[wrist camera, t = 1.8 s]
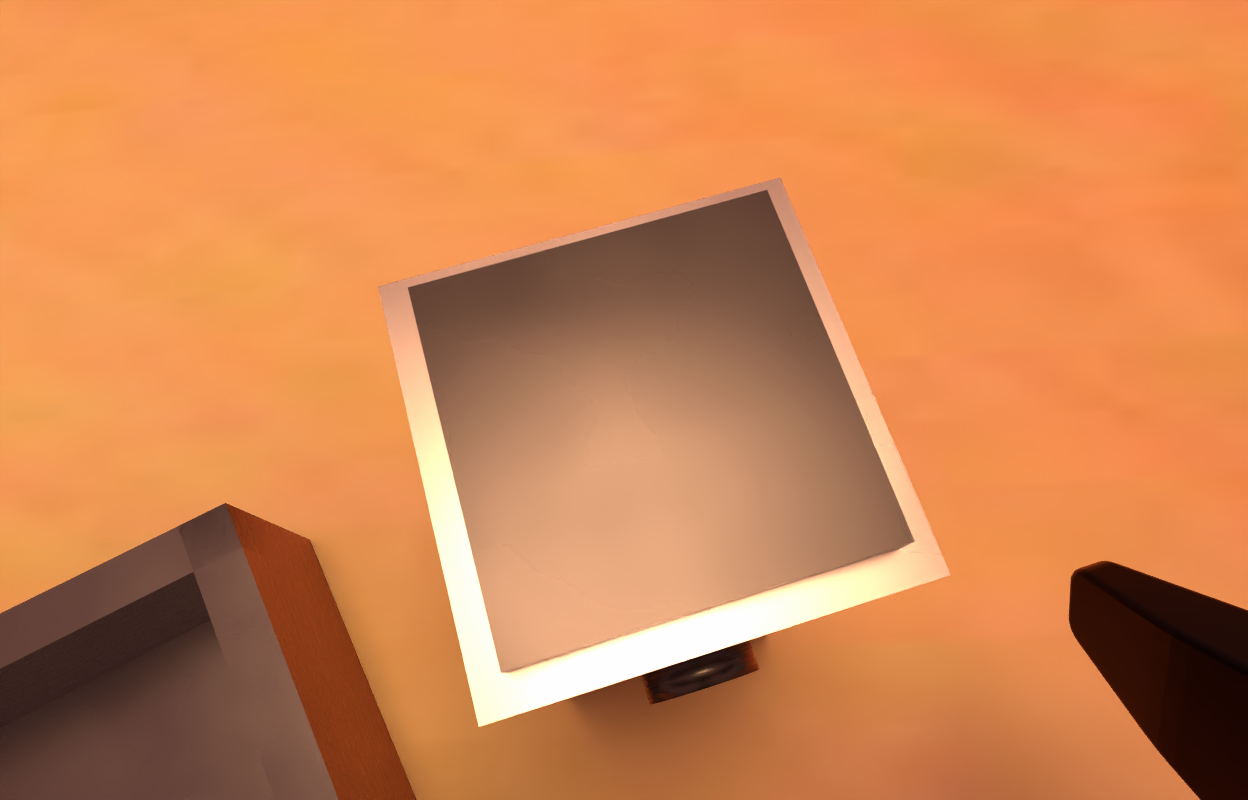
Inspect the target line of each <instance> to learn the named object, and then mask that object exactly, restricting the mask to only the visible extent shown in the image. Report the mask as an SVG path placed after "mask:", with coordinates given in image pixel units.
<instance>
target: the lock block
mask: <svg viewBox="0 0 1248 800" xmlns="http://www.w3.org/2000/svg"><path fill="white" fill-rule="evenodd" d="M378 288H379V292H380V297H381V301H382V305H383V310H384V314H385V319H386V323H387V327H388V332H389V336H390V340H391V345H392V349H393V354H394V358H395V362H396V367H397V371H398V375H399V380H400V384H401V389H402V393H403V397H404V402H405V406H406V410H407V415H408V419H409V424H410V428H411V432H412V437H413V441H414V446H415V450H416V454H417V459H418V463H419V467H420V472H421V476H422V481H423V485H424V489H425V494H426V498H427V502H428V507H429V511H430V516H431V520H432V524H433V529H434V533H435V537H436V542H437V546H438V551H439V555H440V559H441V564H442V568H443V572H444V577H445V581H446V586H447V590H448V594H449V599H450V603H451V607H452V612H453V616H454V621H455V625H456V629H457V634H458V638H459V643H460V647H461V651H462V656H463V660H464V664H465V669H466V673H467V678H468V682H469V686H470V691H471V695H472V699H473V704H474V708H475V713H476V717H477V721H478V726H479V727H480V726H483V725H487V724H490V723H493V722H496V721H499V720H503V719H506V718H509V717H512V716H515V715H519V714H522V713H525V712H528V711H531V710H535V709H538V708H541V707H544V706H547V705H550V704H554V703H557V702H560V701H563V700H566V699H570V698H573V697H576V696H579V695H582V694H585V693H588V692H591V691H595V690H598V689H601V688H604V687H607V686H610V685H613V684H616V683H619V682H622V681H626V680H629V679H632V678H635V677H638V676H641V677H642V680H643V683H644V687H645V690H646V694H647V697H648V700H649V704H654V703H658V702H662V701H666V700H669V699H673V698H676V697H679V696H683V695H686V694H689V693H692V692H695V691H699V690H702V689H705V688H708V687H711V686H714V685H717V684H720V683H723V682H726V681H729V680H732V679H735V678H738V677H740V676H743V675H746V674H749V673H751V672H754V671H756V670H758V669H759V667H758V664H757V661H756V659H755V656H754V653H753V650H752V647H751V644H750V640H753V639H756V638H759V637H762V636H765V635H768V634H772V633H775V632H778V631H781V630H784V629H787V628H790V627H793V626H796V625H799V624H802V623H805V622H808V621H811V620H814V619H818V618H821V617H824V616H827V615H830V614H833V613H836V612H839V611H842V610H845V609H848V608H851V607H854V606H857V605H860V604H863V603H867V602H870V601H873V600H876V599H879V598H882V597H885V596H888V595H891V594H894V593H897V592H900V591H903V590H906V589H909V588H913V587H916V586H919V585H922V584H925V583H928V582H931V581H934V580H937V579H940V578H943V577H946V576H949V575H950V572H949V570H948V568H947V565H946V563H945V561H944V558H943V556H942V554H941V551H940V549H939V547H938V544H937V542H936V540H935V537H934V535H933V533H932V530H931V528H930V526H929V523H928V521H927V519H926V516H925V514H924V512H923V509H922V507H921V505H920V502H919V500H918V498H917V495H916V493H915V491H914V488H913V486H912V484H911V481H910V479H909V477H908V474H907V472H906V470H905V468H904V465H903V463H902V461H901V458H900V456H899V454H898V451H897V449H896V447H895V444H894V442H893V440H892V437H891V435H890V433H889V430H888V428H887V426H886V423H885V421H884V419H883V416H882V414H881V412H880V409H879V407H878V405H877V402H876V400H875V398H874V395H873V393H872V391H871V388H870V386H869V384H868V381H867V379H866V377H865V374H864V372H863V370H862V367H861V365H860V363H859V360H858V358H857V356H856V353H855V351H854V349H853V346H852V344H851V342H850V339H849V337H848V335H847V332H846V330H845V328H844V325H843V323H842V321H841V318H840V316H839V314H838V311H837V309H836V307H835V304H834V302H833V300H832V297H831V295H830V293H829V290H828V288H827V286H826V283H825V281H824V279H823V276H822V274H821V272H820V269H819V267H818V265H817V262H816V260H815V258H814V255H813V253H812V251H811V248H810V246H809V244H808V241H807V239H806V237H805V234H804V232H803V230H802V227H801V225H800V223H799V220H798V218H797V216H796V213H795V211H794V209H793V206H792V204H791V202H790V199H789V197H788V195H787V192H786V190H785V188H784V185H783V183H782V181H781V178H777V179H774V180H770V181H766V182H763V183H759V184H755V185H751V186H748V187H744V188H740V189H737V190H733V191H729V192H726V193H722V194H718V195H715V196H711V197H707V198H703V199H700V200H696V201H692V202H689V203H685V204H681V205H678V206H674V207H670V208H666V209H663V210H659V211H655V212H652V213H648V214H644V215H641V216H637V217H633V218H630V219H626V220H622V221H618V222H615V223H611V224H607V225H604V226H600V227H596V228H593V229H589V230H585V231H582V232H578V233H574V234H570V235H567V236H563V237H559V238H556V239H552V240H548V241H545V242H541V243H537V244H534V245H530V246H526V247H522V248H519V249H515V250H511V251H508V252H504V253H500V254H497V255H493V256H489V257H486V258H482V259H478V260H474V261H471V262H467V263H463V264H460V265H456V266H452V267H449V268H445V269H441V270H438V271H434V272H430V273H426V274H423V275H419V276H415V277H412V278H408V279H404V280H401V281H397V282H393V283H390V284H386V285H382V286H378Z"/></svg>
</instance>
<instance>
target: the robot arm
mask: <svg viewBox="0 0 1248 800" xmlns="http://www.w3.org/2000/svg"><path fill="white" fill-rule="evenodd" d="M1069 623H1070V627H1071V630H1072V632H1073V634H1074V636H1075V638H1076V639H1077V641H1078V642H1079V644H1080V645H1081V646H1082V648H1083V649H1084V651H1085V652H1086V653H1087V655H1088V656H1089V658H1090V659H1091V660H1092V662H1093V663H1094V664H1095V666H1096V667H1097V669H1098V670H1099V671H1100V673H1101V674H1102V675H1103V677H1104V678H1105V680H1106V681H1107V682H1108V684H1109V685H1110V687H1111V688H1112V689H1113V691H1114V692H1115V693H1116V695H1117V696H1118V698H1119V699H1120V700H1121V702H1122V703H1123V704H1124V706H1125V707H1126V709H1127V710H1128V711H1129V713H1130V714H1131V716H1132V717H1133V718H1134V720H1135V721H1136V722H1137V724H1138V725H1139V727H1140V728H1141V729H1142V731H1143V732H1144V733H1145V735H1146V736H1147V737H1148V739H1149V740H1150V741H1151V742H1152V744H1153V745H1154V746H1155V748H1156V749H1157V750H1158V751H1159V752H1160V754H1161V755H1162V756H1163V757H1164V758H1165V760H1166V761H1167V762H1168V763H1169V764H1170V766H1171V767H1172V768H1173V769H1174V770H1175V771H1176V772H1177V774H1178V775H1179V776H1180V777H1181V778H1182V779H1183V780H1184V782H1185V783H1186V784H1187V785H1188V786H1189V787H1190V788H1191V789H1192V791H1193V792H1194V793H1195V794H1196V795H1197V796H1198V797H1199V799H1200V800H1248V610H1245V609H1243V608H1240V607H1237V606H1234V605H1231V604H1229V603H1226V602H1223V601H1220V600H1217V599H1215V598H1212V597H1209V596H1206V595H1203V594H1201V593H1198V592H1195V591H1192V590H1189V589H1187V588H1184V587H1181V586H1178V585H1175V584H1173V583H1170V582H1167V581H1164V580H1161V579H1159V578H1156V577H1153V576H1150V575H1147V574H1145V573H1142V572H1139V571H1136V570H1133V569H1131V568H1128V567H1125V566H1122V565H1119V564H1117V563H1113V562H1109V561H1100V562H1097V563H1094V564H1091V565H1088V566H1085V567H1082V568H1079V569H1077V570H1075V571H1074V573H1073V574H1072V576H1071V584H1070V604H1069Z"/></svg>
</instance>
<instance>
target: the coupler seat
mask: <svg viewBox="0 0 1248 800" xmlns="http://www.w3.org/2000/svg"><path fill="white" fill-rule="evenodd" d="M0 800H416V799H415V796H414V794H413V791H412V789H411V786H410V784H409V782H408V779H407V777H406V774H405V772H404V769H403V767H402V764H401V762H400V760H399V757H398V755H397V752H396V750H395V747H394V745H393V742H392V740H391V738H390V735H389V733H388V730H387V728H386V725H385V723H384V720H383V718H382V716H381V713H380V711H379V708H378V706H377V703H376V701H375V698H374V696H373V694H372V691H371V689H370V686H369V684H368V681H367V679H366V676H365V674H364V672H363V669H362V667H361V664H360V662H359V659H358V657H357V654H356V652H355V650H354V647H353V645H352V642H351V640H350V637H349V635H348V632H347V630H346V628H345V625H344V623H343V620H342V618H341V615H340V613H339V611H338V608H337V606H336V603H335V601H334V598H333V596H332V593H331V591H330V589H329V586H328V584H327V581H326V579H325V576H324V574H323V571H322V569H321V567H320V564H319V562H318V559H317V557H316V554H315V552H314V549H313V547H312V545H311V542H310V540H309V539H307V538H305V537H302V536H300V535H298V534H295V533H293V532H291V531H289V530H286V529H284V528H282V527H279V526H277V525H275V524H272V523H270V522H268V521H266V520H263V519H261V518H259V517H256V516H254V515H252V514H249V513H247V512H245V511H243V510H240V509H238V508H236V507H233V506H231V505H229V504H226V503H225V504H223V505H221V506H218V507H216V508H214V509H212V510H210V511H208V512H206V513H204V514H202V515H200V516H198V517H196V518H194V519H192V520H190V521H188V522H186V523H184V524H182V525H180V526H178V527H176V528H174V529H172V530H170V531H168V532H166V533H164V534H161V535H159V536H157V537H155V538H153V539H151V540H149V541H147V542H145V543H143V544H141V545H139V546H137V547H135V548H133V549H131V550H129V551H127V552H125V553H123V554H121V555H119V556H117V557H115V558H113V559H111V560H109V561H107V562H105V563H102V564H100V565H98V566H96V567H94V568H92V569H90V570H88V571H86V572H84V573H82V574H80V575H78V576H76V577H74V578H72V579H70V580H68V581H66V582H64V583H62V584H60V585H58V586H56V587H54V588H52V589H50V590H48V591H45V592H43V593H41V594H39V595H37V596H35V597H33V598H31V599H29V600H27V601H25V602H23V603H21V604H19V605H17V606H15V607H13V608H11V609H9V610H7V611H5V612H3V613H1V614H0Z"/></svg>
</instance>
